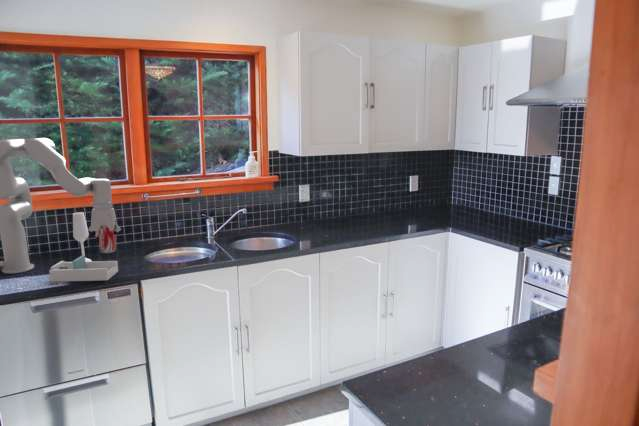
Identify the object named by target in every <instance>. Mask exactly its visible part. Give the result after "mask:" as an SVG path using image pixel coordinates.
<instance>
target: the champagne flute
mask: <svg viewBox="0 0 639 426" xmlns="http://www.w3.org/2000/svg"><path fill="white" fill-rule="evenodd" d="M88 229H89V228H88V225H87V220H86V215H85V213H84V212H83V211H80V212H73V213H72V233H73V235H72V237H73V238H74V240H75V241H77V242H78V243H80V248H81V256H85V262H88V261H92V259H91V258H87V257H86V254H85V246H84V242H85V241H86V240H87V239H88V238H89V235H90V233H89V230H88Z"/></svg>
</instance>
